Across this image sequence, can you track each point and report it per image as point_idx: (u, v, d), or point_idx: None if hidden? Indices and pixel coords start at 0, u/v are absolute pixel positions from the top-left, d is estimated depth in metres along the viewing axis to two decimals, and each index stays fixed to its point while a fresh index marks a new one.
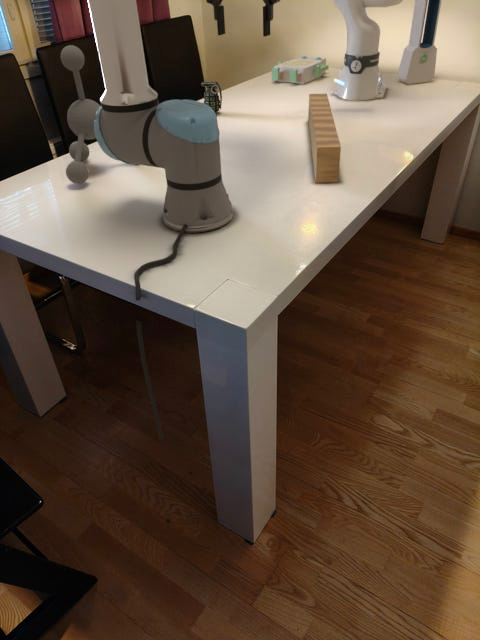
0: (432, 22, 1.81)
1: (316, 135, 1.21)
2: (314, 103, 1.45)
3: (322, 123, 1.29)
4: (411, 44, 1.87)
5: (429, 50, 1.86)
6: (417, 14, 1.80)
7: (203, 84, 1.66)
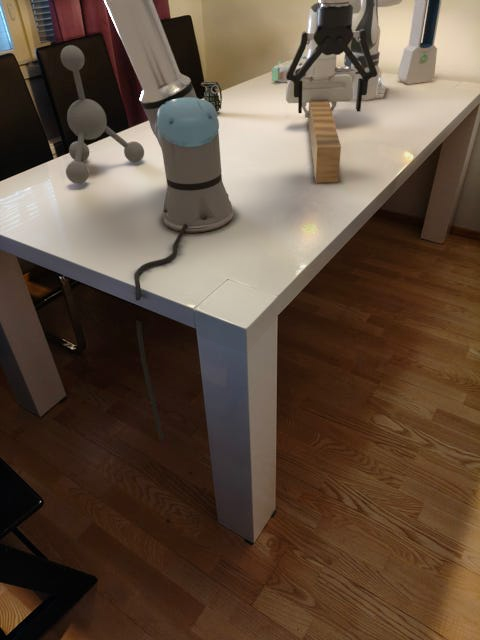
0: (432, 22, 1.81)
1: (316, 135, 1.21)
2: (314, 103, 1.45)
3: (322, 123, 1.29)
4: (411, 44, 1.87)
5: (429, 50, 1.86)
6: (417, 14, 1.80)
7: (203, 84, 1.66)
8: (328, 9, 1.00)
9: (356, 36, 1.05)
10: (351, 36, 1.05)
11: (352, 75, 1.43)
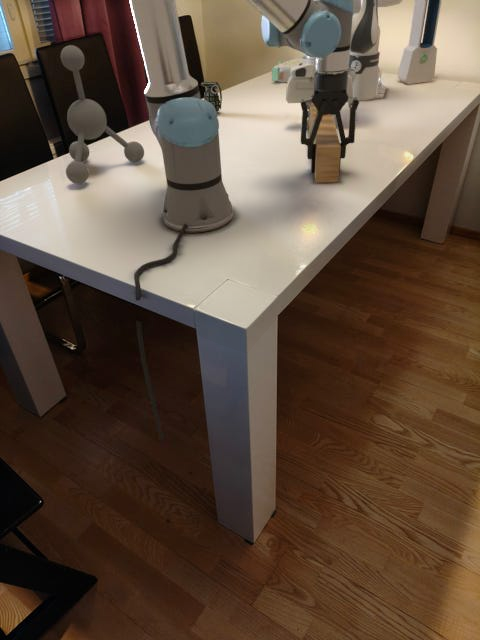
0: (432, 22, 1.81)
1: (316, 135, 1.21)
2: None
3: (322, 123, 1.29)
4: (411, 44, 1.87)
5: (429, 50, 1.86)
6: (417, 14, 1.80)
7: (203, 84, 1.66)
8: (324, 76, 1.08)
9: (349, 102, 1.13)
10: (345, 100, 1.12)
11: (352, 75, 1.43)
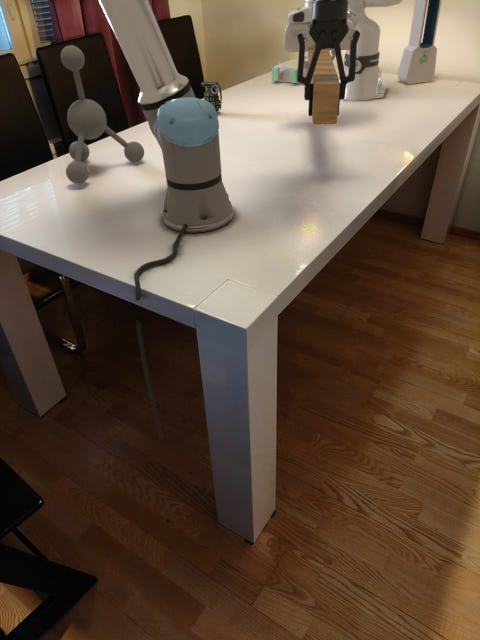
0: (432, 22, 1.81)
1: (314, 74, 1.13)
2: (313, 51, 1.36)
3: (321, 65, 1.21)
4: (411, 44, 1.87)
5: (429, 50, 1.86)
6: (417, 14, 1.80)
7: (203, 84, 1.66)
8: (323, 2, 1.00)
9: (350, 34, 1.05)
10: (346, 31, 1.04)
11: (353, 20, 1.35)
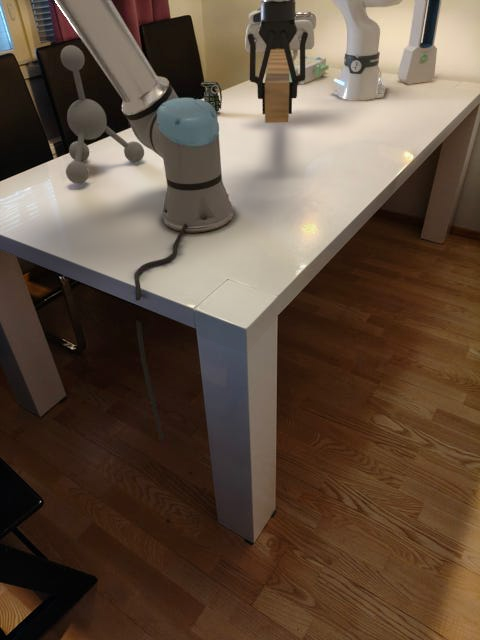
0: (432, 22, 1.81)
1: (267, 74, 1.16)
2: (273, 50, 1.39)
3: (277, 65, 1.24)
4: (411, 44, 1.87)
5: (429, 50, 1.86)
6: (417, 14, 1.80)
7: (203, 84, 1.66)
8: (269, 4, 1.03)
9: (298, 34, 1.08)
10: (294, 32, 1.07)
11: (312, 21, 1.38)
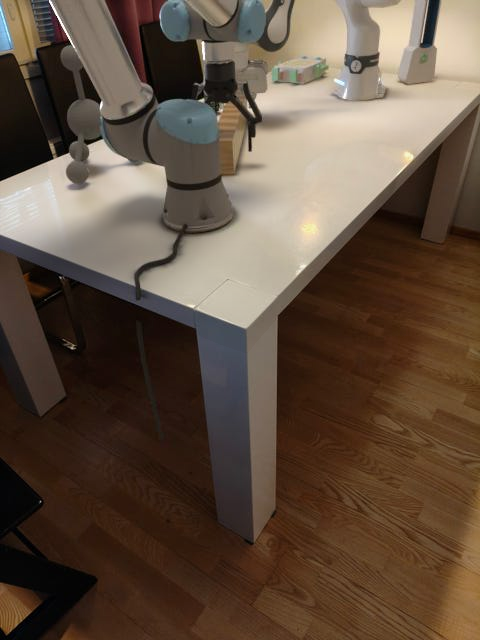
0: (432, 22, 1.81)
1: None
2: None
3: (227, 118, 1.36)
4: (411, 44, 1.87)
5: (429, 50, 1.86)
6: (417, 14, 1.80)
7: None
8: (211, 66, 1.14)
9: (240, 87, 1.19)
10: (235, 88, 1.18)
11: (264, 67, 1.50)
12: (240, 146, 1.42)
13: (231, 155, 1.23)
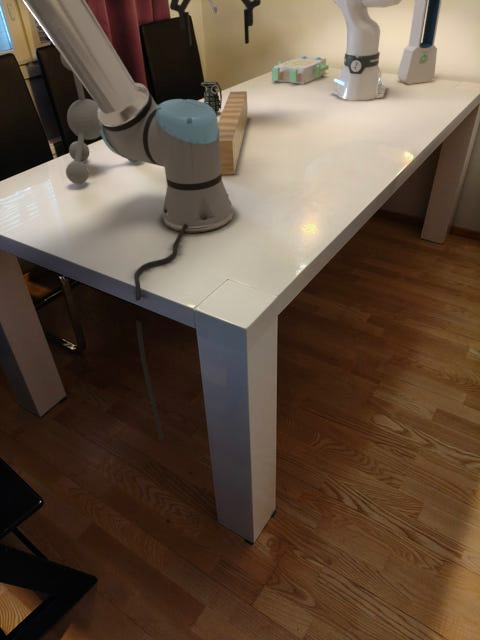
0: (432, 22, 1.81)
1: None
2: (230, 100, 1.52)
3: (227, 118, 1.36)
4: (411, 44, 1.87)
5: (429, 50, 1.86)
6: (417, 14, 1.80)
7: (203, 84, 1.66)
8: None
9: None
10: None
11: None
12: (240, 146, 1.42)
13: (231, 155, 1.23)
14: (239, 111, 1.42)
